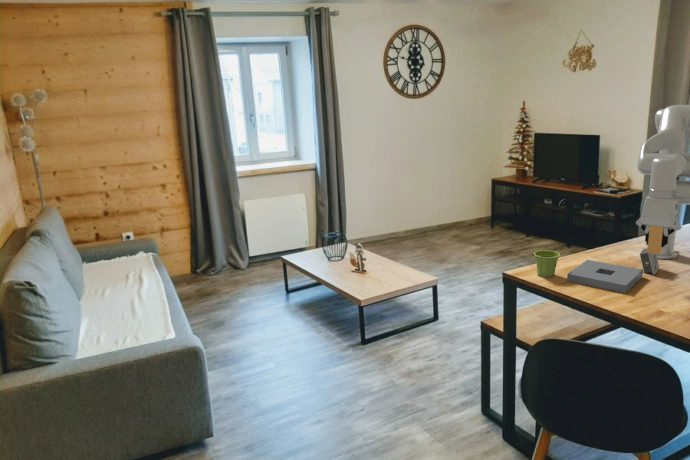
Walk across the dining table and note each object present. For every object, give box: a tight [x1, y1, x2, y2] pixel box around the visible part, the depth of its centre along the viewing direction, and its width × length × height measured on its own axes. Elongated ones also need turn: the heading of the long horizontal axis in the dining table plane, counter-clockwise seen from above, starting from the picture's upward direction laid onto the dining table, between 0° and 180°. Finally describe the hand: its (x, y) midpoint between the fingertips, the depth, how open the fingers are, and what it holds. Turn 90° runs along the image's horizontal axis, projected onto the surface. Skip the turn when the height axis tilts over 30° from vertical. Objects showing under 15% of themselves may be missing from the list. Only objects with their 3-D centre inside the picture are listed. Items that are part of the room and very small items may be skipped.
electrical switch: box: [639, 247, 660, 276], centre depth 199 cm, size 9×5×9 cm, turn 141°
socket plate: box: [566, 259, 644, 294], centre depth 193 cm, size 20×20×3 cm
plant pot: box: [533, 249, 561, 278], centre depth 199 cm, size 9×9×9 cm
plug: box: [647, 225, 664, 255], centre depth 180 cm, size 4×4×10 cm
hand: (655, 244), depth 181 cm, fingers closed on plug, 4 cm apart
